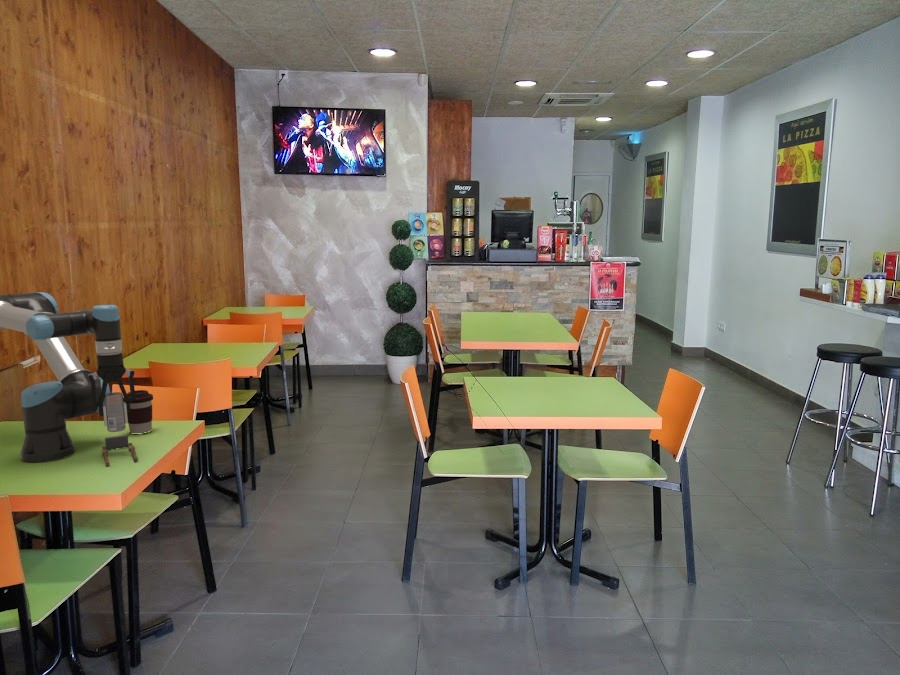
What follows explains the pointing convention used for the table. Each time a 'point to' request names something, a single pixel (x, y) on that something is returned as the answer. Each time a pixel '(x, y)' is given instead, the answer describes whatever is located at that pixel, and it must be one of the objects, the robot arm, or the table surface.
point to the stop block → (116, 442)
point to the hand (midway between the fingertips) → (116, 423)
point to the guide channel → (131, 449)
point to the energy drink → (115, 412)
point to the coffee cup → (140, 412)
